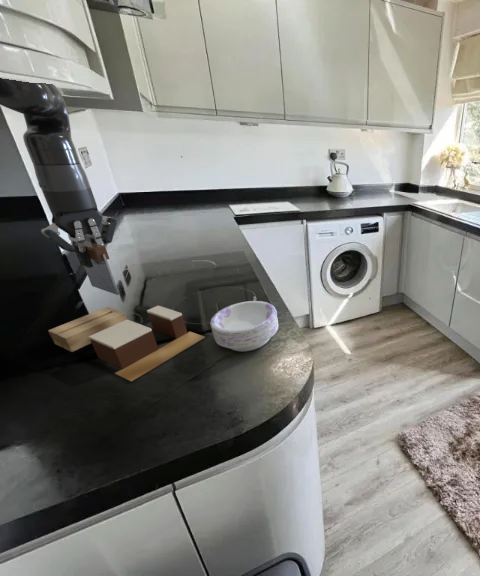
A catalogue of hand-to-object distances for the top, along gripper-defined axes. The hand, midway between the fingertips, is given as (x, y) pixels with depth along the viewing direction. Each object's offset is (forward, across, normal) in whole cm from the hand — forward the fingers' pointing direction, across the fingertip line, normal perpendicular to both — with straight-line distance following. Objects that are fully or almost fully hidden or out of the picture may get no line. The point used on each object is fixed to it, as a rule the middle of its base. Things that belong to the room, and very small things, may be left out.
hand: (95, 264), depth 74 cm
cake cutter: (+7, 0, 0) cm, 7 cm away
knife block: (+20, -3, +6) cm, 22 cm away
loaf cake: (+19, -4, -10) cm, 22 cm away
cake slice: (+19, +6, -10) cm, 22 cm away
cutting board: (+20, -1, -10) cm, 22 cm away
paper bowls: (+20, +13, -30) cm, 38 cm away
